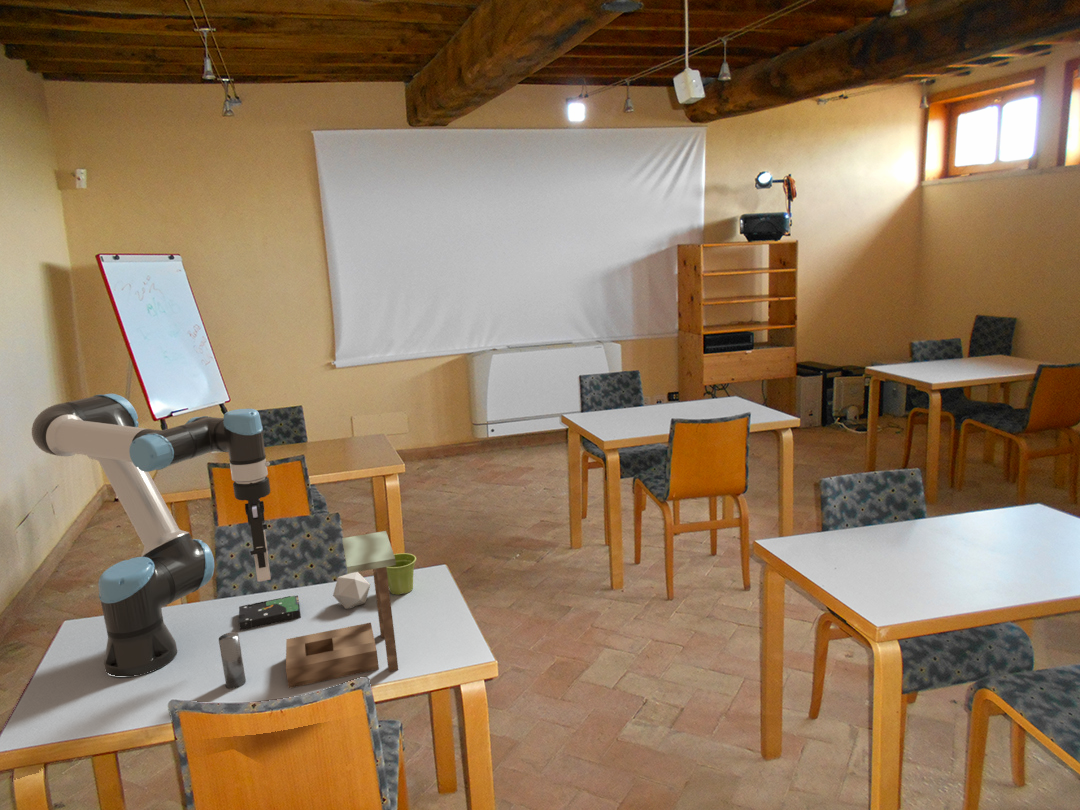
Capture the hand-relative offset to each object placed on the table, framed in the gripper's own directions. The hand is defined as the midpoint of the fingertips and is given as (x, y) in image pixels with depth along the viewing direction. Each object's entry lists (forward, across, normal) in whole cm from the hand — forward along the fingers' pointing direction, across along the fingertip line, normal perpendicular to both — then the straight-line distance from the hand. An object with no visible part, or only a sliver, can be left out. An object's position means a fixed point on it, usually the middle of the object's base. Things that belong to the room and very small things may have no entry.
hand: (263, 568), depth 177 cm
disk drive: (+22, +21, 0) cm, 30 cm away
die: (+21, +17, -20) cm, 34 cm away
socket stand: (+21, -11, -15) cm, 28 cm away
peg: (+21, -10, +8) cm, 25 cm away
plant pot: (+21, +19, -34) cm, 44 cm away
